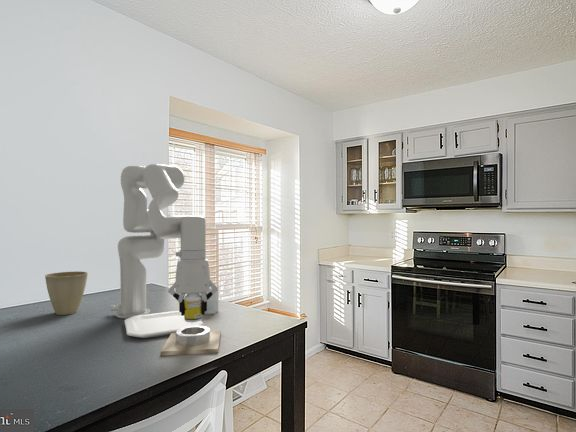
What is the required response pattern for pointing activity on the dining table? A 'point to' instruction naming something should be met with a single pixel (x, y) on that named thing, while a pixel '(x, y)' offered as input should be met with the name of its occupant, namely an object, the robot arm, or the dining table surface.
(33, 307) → the dining table surface
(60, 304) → the plant pot
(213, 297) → the small box
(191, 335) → the steel ring collar
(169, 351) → the fitting board
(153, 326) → the plate
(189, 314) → the supplement bottle
